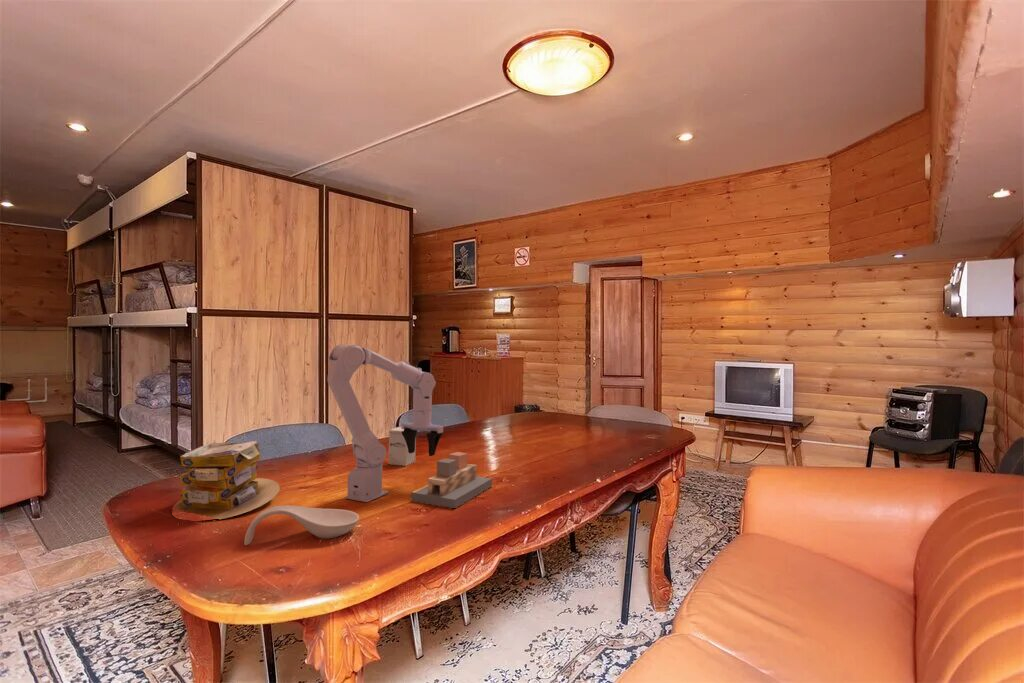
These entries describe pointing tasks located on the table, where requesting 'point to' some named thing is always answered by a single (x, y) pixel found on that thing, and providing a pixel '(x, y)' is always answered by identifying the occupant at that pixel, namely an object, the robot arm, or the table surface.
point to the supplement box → (399, 448)
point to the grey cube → (446, 467)
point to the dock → (452, 493)
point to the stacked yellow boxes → (223, 480)
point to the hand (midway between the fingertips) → (421, 454)
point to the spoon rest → (311, 520)
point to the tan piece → (452, 480)
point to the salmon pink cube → (459, 459)
